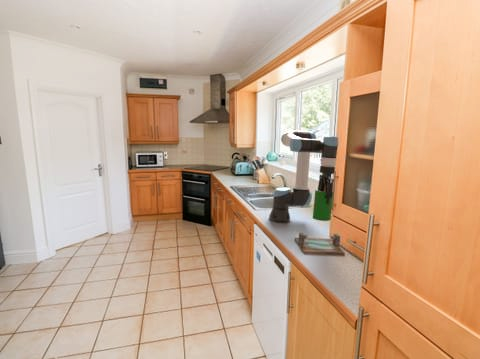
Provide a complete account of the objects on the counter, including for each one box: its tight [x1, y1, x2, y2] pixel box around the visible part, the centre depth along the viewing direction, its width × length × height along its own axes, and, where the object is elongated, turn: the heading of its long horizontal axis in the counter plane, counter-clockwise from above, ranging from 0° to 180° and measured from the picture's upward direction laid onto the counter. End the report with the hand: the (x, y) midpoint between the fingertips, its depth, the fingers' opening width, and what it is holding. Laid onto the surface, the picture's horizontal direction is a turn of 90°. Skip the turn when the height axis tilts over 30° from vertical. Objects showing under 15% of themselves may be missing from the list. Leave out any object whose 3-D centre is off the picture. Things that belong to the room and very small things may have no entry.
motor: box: [312, 183, 334, 222], centre depth 140 cm, size 10×9×20 cm
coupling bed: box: [294, 232, 346, 256], centre depth 144 cm, size 18×22×8 cm
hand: (322, 207), depth 141 cm, fingers closed on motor, 7 cm apart
